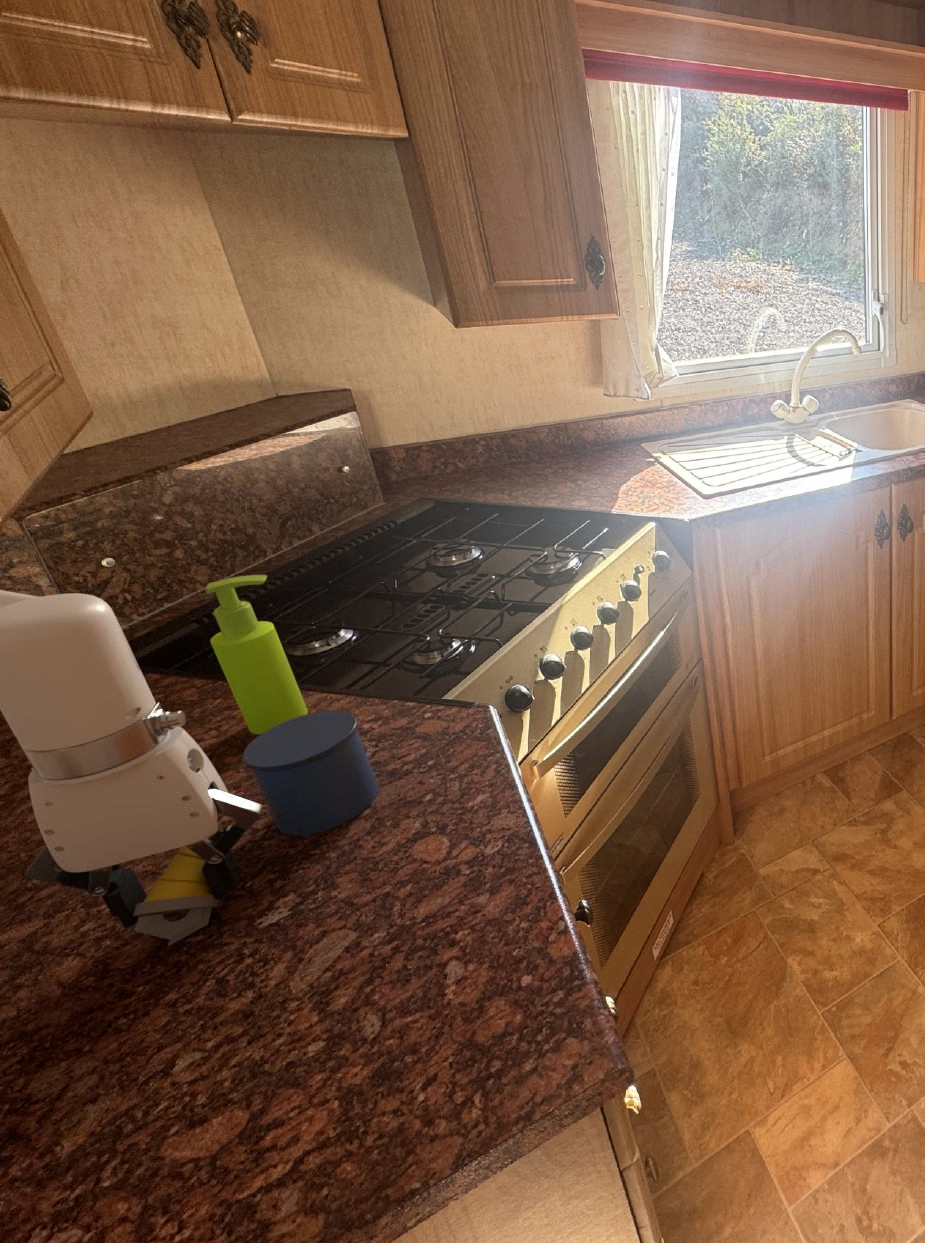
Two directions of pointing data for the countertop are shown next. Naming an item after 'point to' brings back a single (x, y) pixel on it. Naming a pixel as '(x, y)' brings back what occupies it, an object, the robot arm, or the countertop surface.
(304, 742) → the tin
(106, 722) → the robot arm
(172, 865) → the drill bit
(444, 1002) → the countertop surface
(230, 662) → the soap dispenser
